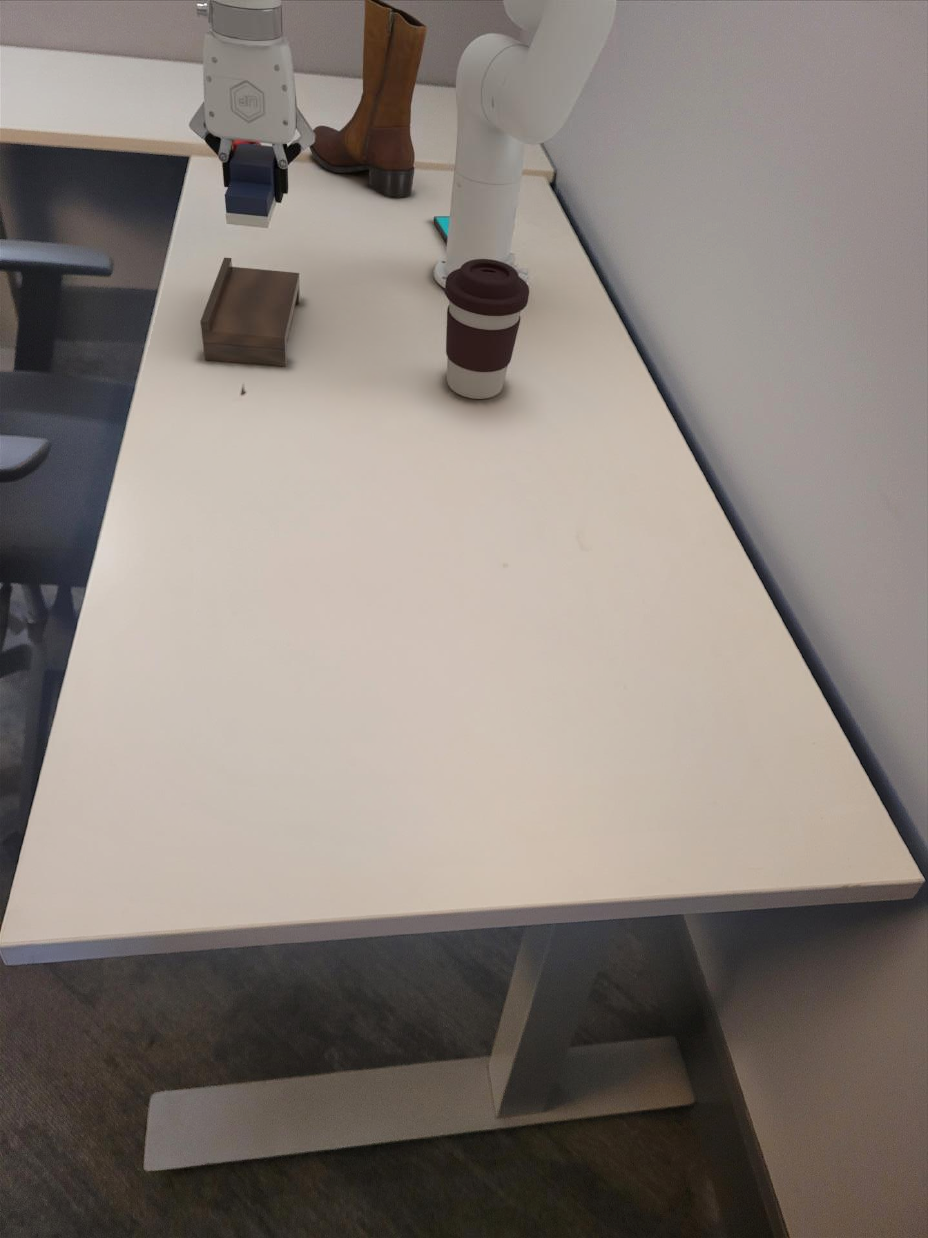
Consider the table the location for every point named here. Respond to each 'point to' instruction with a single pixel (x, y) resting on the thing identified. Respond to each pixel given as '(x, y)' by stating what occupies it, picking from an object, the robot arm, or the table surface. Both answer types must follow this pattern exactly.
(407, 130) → the boot
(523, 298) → the coffee cup
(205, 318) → the wooden block with lip
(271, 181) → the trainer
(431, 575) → the table surface
